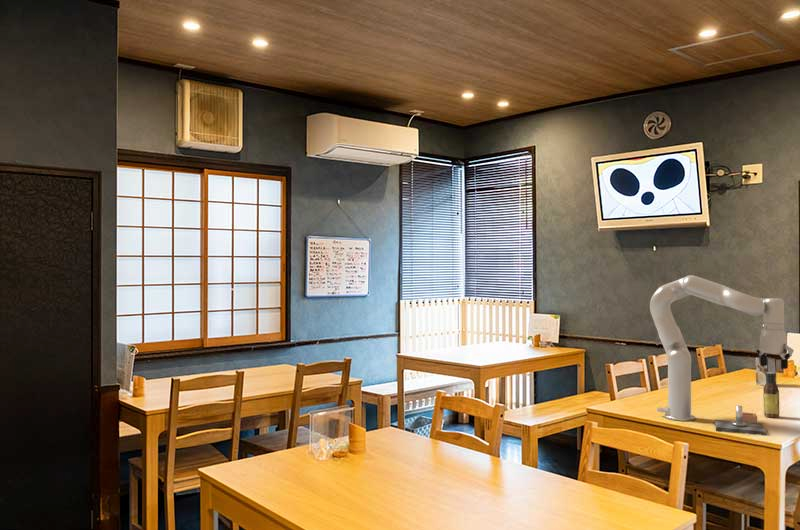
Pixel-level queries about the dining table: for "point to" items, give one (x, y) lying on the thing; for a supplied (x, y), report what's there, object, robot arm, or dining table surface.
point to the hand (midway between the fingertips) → (773, 367)
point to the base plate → (750, 429)
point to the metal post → (739, 418)
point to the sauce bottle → (771, 396)
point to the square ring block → (749, 417)
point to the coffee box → (764, 370)
